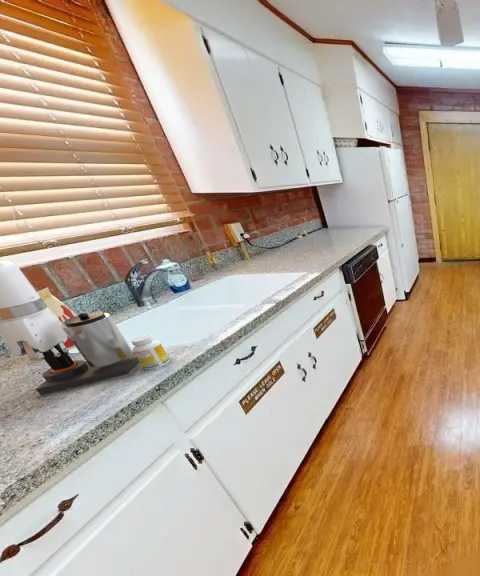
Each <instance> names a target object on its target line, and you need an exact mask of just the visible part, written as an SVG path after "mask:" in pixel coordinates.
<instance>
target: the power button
mask: <svg viewBox="0 0 480 576" xmlns="http://www.w3.org/2000/svg"><path fill="white" fill-rule="evenodd" d="M75 366H77V365H76V363H74V364H73V365H72V366H71V367H68V368H63V369H58V370H53V369H52V370H51V372H52V373H60V372H63V371H66V370H69V369H71V368H73V367H75Z"/></svg>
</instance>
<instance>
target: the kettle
mask: <svg viewBox="0 0 480 576" xmlns="http://www.w3.org/2000/svg"><path fill="white" fill-rule="evenodd" d="M61 327H62V329H63V330H64V331H65V333H66V334H67V336H68V337H69V338H70V340H71V341H72V342H73V344H74V345H75V347H76V348H75V349H77V351H78V352H79V354H80V355H81V356H82V358H83V360H84V361H86V362H87V363H88V364H89V366H91V367H100V366H105V365H109V364H112V363H115V362H118V361H121V360H123V359H125V358H127V357H128V356H130V355H131V354H132V353H133V348H131V346H130V345H129V342H128V341H127V340H126V338H125V337H124V335H123V334H122V332H121V331H120V329H119V327H118V326H117V324H116V322H115V321H114V319H113V318H112V316H111V314H110V313H108V312H104V311H92V312H80V313H79V314H77V316H75V317H72V318H70V319H67V320H66V321H64V324H62V325H61Z"/></svg>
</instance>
